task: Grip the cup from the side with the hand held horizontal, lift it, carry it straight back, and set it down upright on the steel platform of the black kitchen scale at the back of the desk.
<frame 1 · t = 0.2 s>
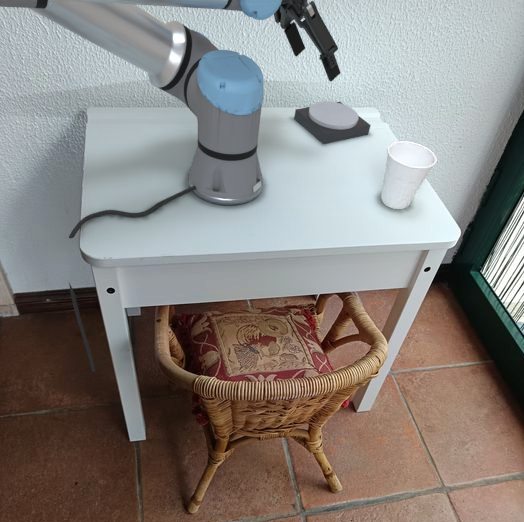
hand: (316, 64, 108), 15 cm above the table, tool tilted 35°, fingers open, 13 cm apart
scale: (330, 126, 123), on the table
cup: (394, 202, 105), on the table
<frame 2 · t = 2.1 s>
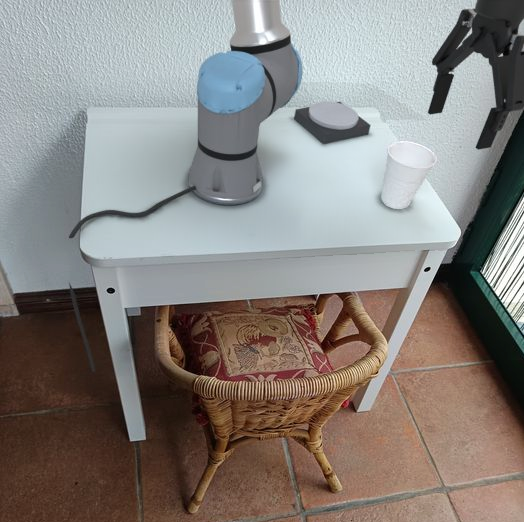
hand: (457, 129, 86), 19 cm above the table, tool pointing down, fingers open, 13 cm apart
nothing on the table moved.
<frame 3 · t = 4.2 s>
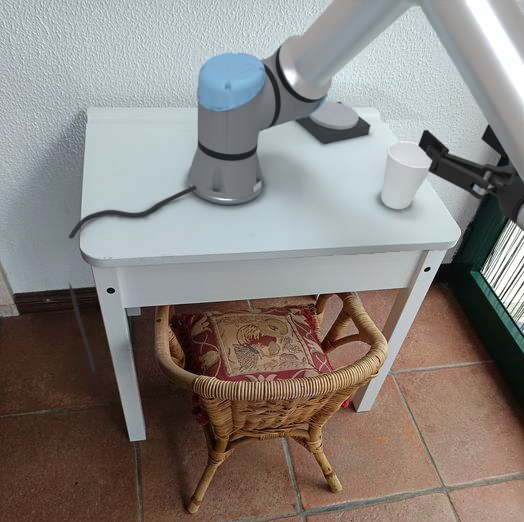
hand: (455, 134, 85), 20 cm above the table, tool horizontal, fingers open, 13 cm apart
nothing on the table moved.
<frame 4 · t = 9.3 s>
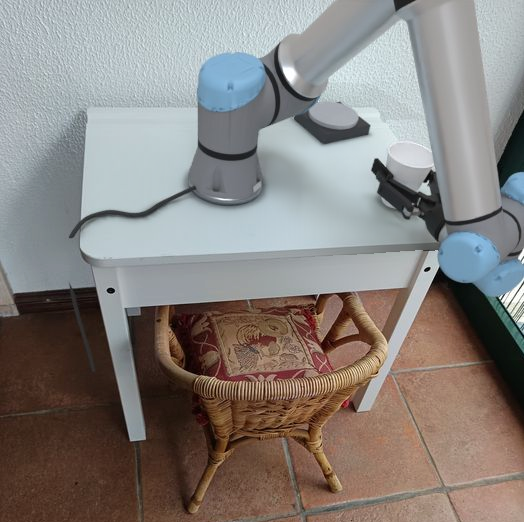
hand: (393, 162, 102), 6 cm above the table, tool horizontal, fingers closed on cup, 8 cm apart
cup: (394, 202, 105), on the table, touching gripper
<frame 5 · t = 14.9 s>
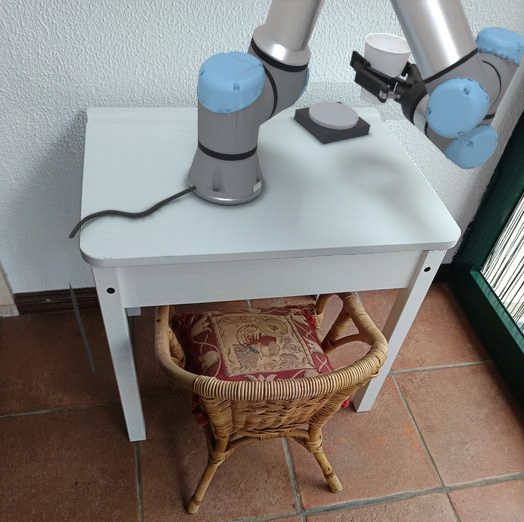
hand: (371, 57, 102), 20 cm above the table, tool horizontal, fingers closed on cup, 8 cm apart
cup: (373, 100, 104), point 13 cm above the table, touching gripper
when the fingers open (10 cm above the table, at t = 20.4 s): cup stays where it is, resting on scale.
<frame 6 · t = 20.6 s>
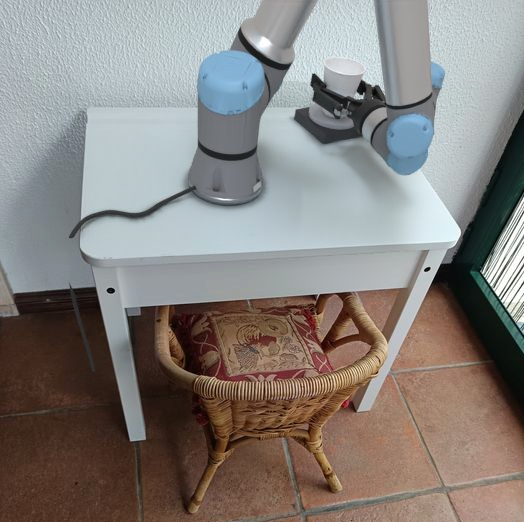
hand: (331, 78, 118), 10 cm above the table, tool horizontal, fingers open, 10 cm apart
cup: (334, 113, 120), point 3 cm above the table, touching scale
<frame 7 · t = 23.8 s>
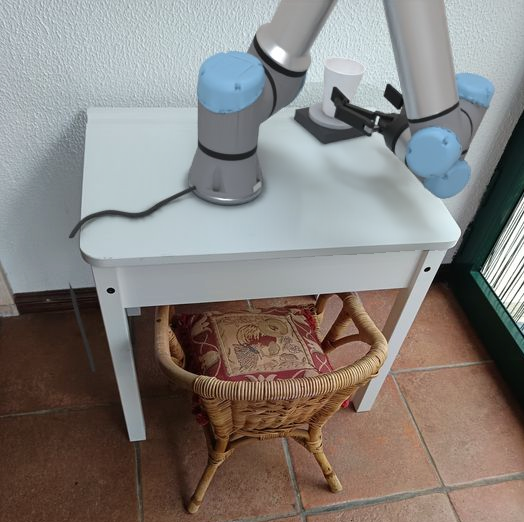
hand: (360, 91, 108), 13 cm above the table, tool horizontal, fingers open, 13 cm apart
nothing on the table moved.
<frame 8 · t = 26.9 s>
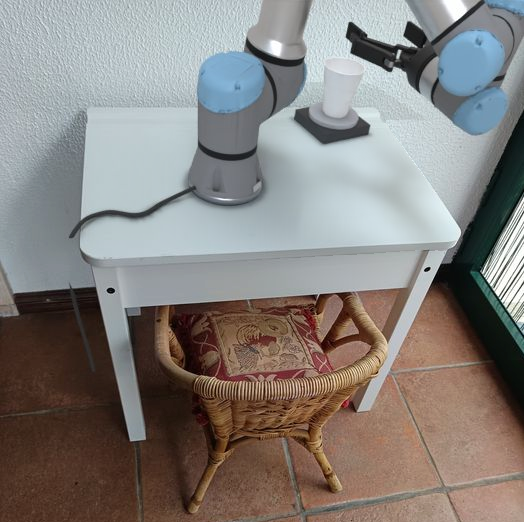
hand: (378, 29, 98), 25 cm above the table, tool horizontal, fingers open, 13 cm apart
nothing on the table moved.
at the end: cup inside the target area on the scale (0.1 cm from its centre), point 3.2 cm above the scale's base; cup tilted 0°; the gripper is holding nothing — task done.
